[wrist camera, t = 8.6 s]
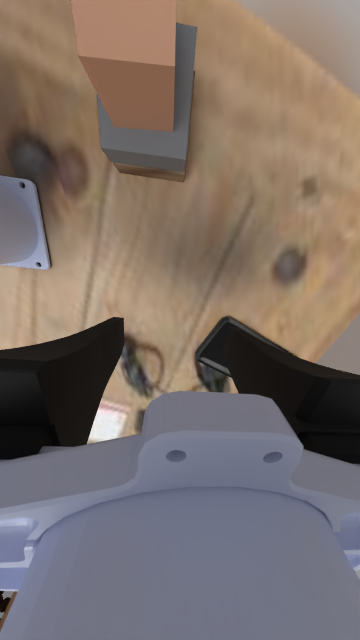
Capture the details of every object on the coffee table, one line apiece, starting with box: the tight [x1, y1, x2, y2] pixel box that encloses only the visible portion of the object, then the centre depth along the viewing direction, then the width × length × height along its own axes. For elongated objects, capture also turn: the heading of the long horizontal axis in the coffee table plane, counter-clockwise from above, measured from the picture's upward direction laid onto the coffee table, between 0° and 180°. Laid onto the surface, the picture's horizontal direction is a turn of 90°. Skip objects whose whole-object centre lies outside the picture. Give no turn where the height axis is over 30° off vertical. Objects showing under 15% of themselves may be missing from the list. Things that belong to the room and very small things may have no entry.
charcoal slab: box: [97, 23, 197, 172], centre depth 12 cm, size 6×6×2 cm
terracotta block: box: [71, 0, 176, 132], centre depth 9 cm, size 4×4×5 cm
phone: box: [195, 317, 292, 378], centre depth 26 cm, size 8×1×15 cm
